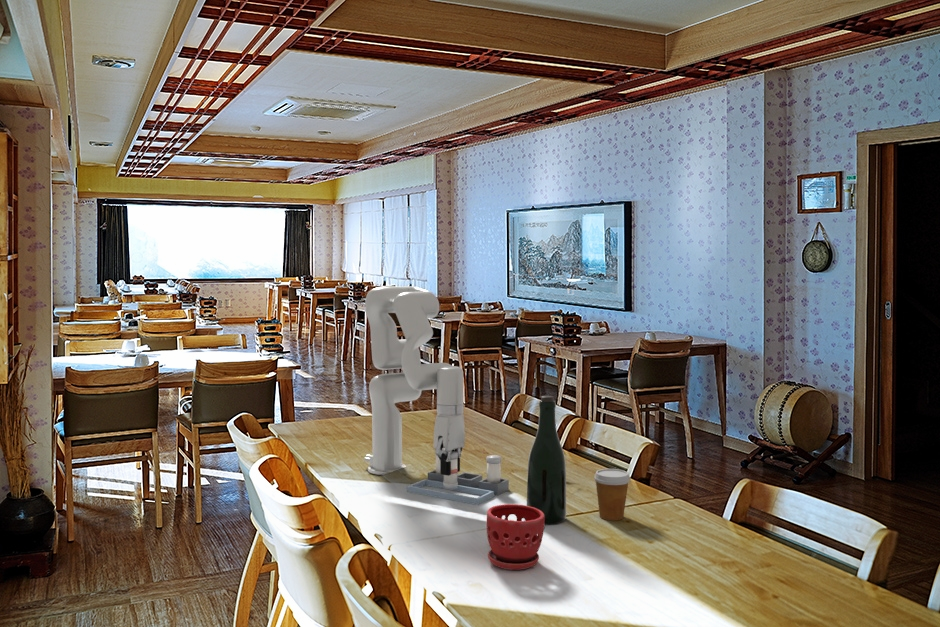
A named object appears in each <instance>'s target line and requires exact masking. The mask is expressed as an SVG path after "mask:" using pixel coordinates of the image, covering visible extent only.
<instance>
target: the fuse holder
mask: <svg viewBox="0 0 940 627" xmlns="http://www.w3.org/2000/svg"><path fill="white" fill-rule="evenodd" d="M427 480H432V481H438V482H444V475H441V474H436V469H434V470H432V471H429V472H427ZM457 481H458V485H461V486H466V487H472V488H478V489H484V490H489V491H494V497H498V496H499V495H502V494H504V493H505V492H508V491H510V490H511V488H509V487H510V484H509V482H510V479H507V478H502V477H501V482H500V483H498V484H494V483H488V482H487V477H486V478H483V475H481V474H478V473H472V472H471V473H470V472H466V471H465V472H464V471H463V472H462V473H459V474H457Z"/></svg>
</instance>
